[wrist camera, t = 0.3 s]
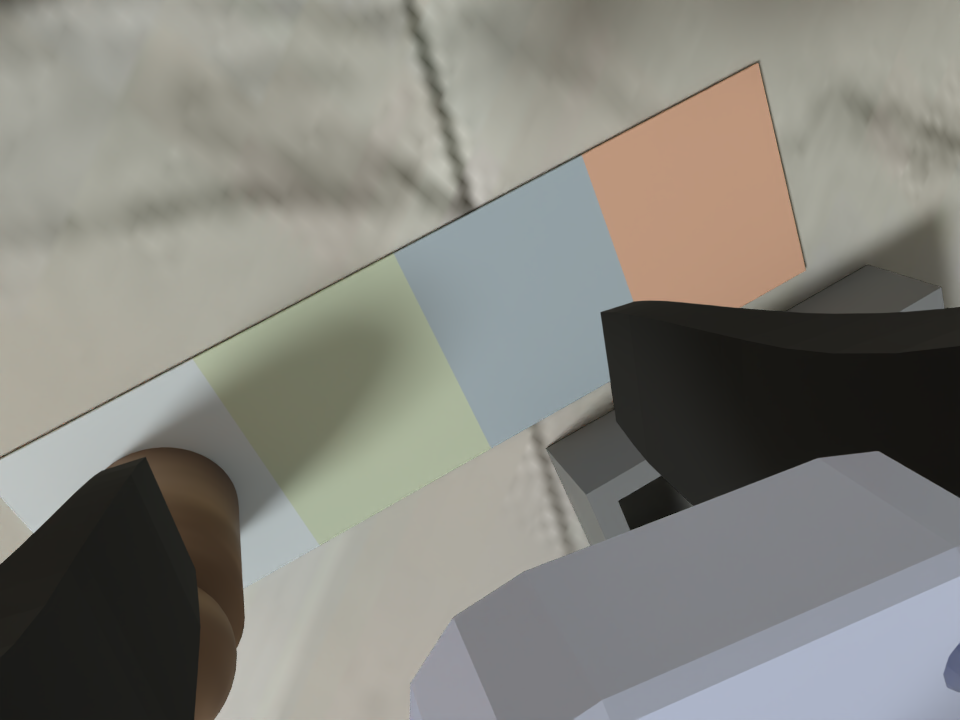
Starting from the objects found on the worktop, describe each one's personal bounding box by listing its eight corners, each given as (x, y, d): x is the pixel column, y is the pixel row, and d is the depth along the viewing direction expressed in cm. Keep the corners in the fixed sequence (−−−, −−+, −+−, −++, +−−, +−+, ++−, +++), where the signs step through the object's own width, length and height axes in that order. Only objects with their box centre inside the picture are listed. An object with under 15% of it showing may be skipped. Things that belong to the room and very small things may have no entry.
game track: (803, 269, 26) (805, 270, 25) (138, 646, 23) (137, 648, 23) (755, 63, 22) (758, 62, 22) (-22, 469, 20) (-23, 471, 20)
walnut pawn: (264, 527, 23) (287, 738, 15) (139, 596, 22) (103, 848, 15) (189, 421, 21) (176, 606, 14) (51, 495, 20) (-37, 726, 13)
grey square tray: (918, 530, 32) (981, 572, 29) (658, 693, 31) (700, 753, 28) (867, 264, 26) (941, 287, 24) (545, 448, 25) (585, 494, 22)
